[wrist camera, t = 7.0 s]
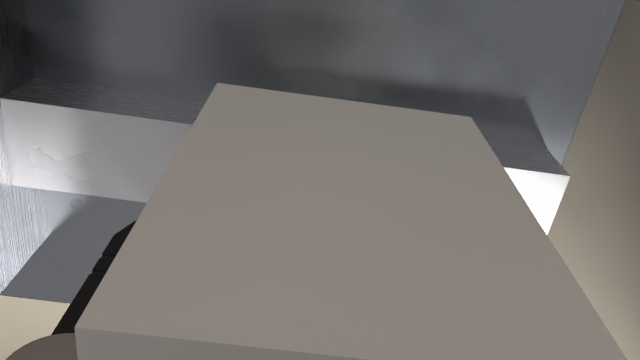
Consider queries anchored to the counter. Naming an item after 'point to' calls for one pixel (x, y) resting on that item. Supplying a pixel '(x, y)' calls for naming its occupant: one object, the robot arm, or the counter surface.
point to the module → (337, 245)
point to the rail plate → (265, 73)
